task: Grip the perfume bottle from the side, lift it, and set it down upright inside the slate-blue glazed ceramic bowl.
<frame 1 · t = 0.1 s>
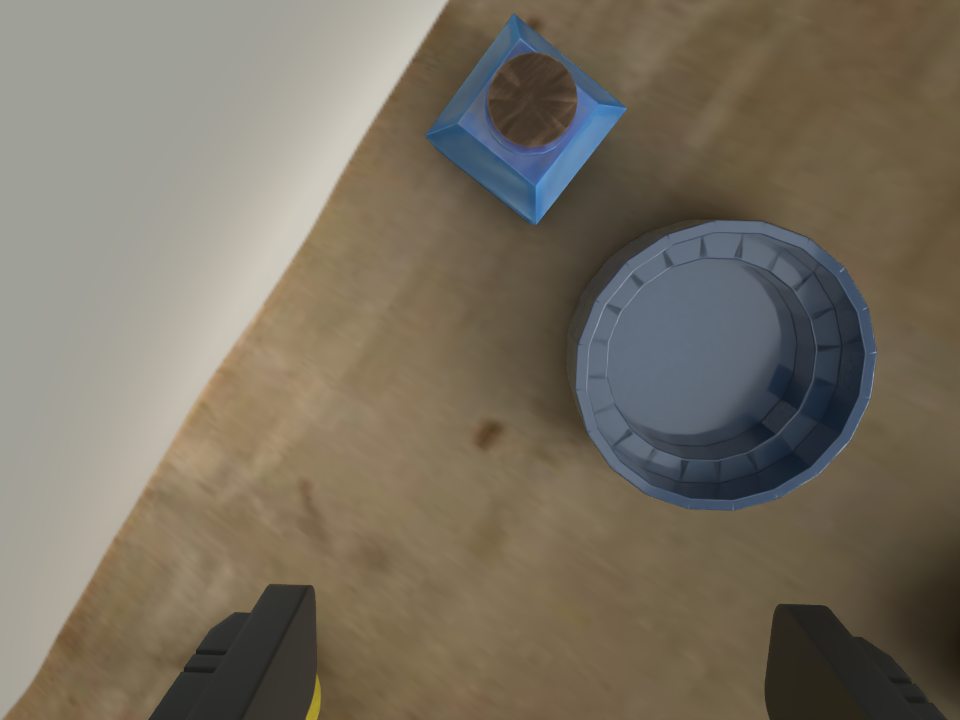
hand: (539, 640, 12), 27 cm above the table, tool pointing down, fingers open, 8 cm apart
lemon: (290, 659, 43), on the table
bowl: (695, 351, 38), on the table
perfume bottle: (520, 138, 36), on the table
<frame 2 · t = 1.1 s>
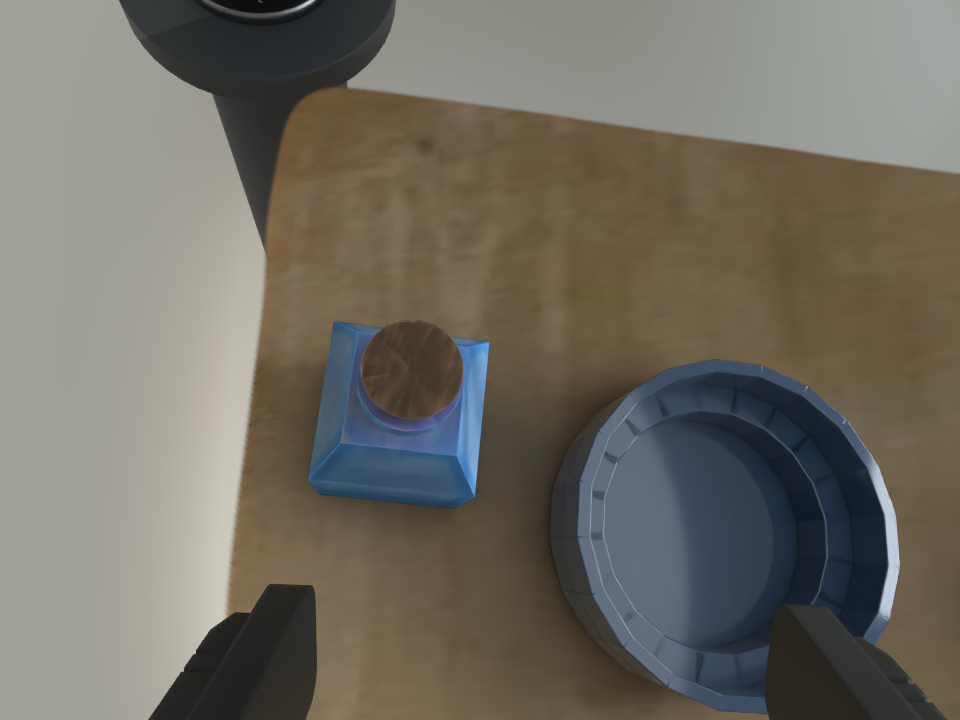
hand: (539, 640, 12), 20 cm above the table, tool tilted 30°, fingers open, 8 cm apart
bowl: (689, 529, 34), on the table
perfume bottle: (396, 435, 33), on the table
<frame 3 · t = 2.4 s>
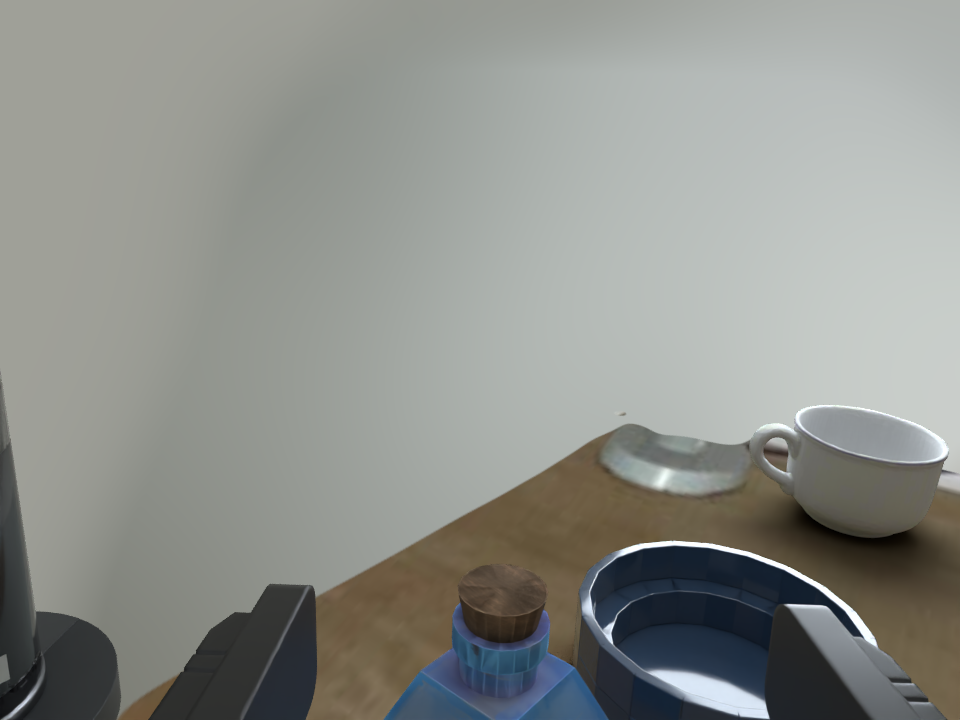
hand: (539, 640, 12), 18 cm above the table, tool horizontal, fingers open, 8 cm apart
teacup: (828, 518, 57), on the table
bowl: (708, 696, 37), on the table
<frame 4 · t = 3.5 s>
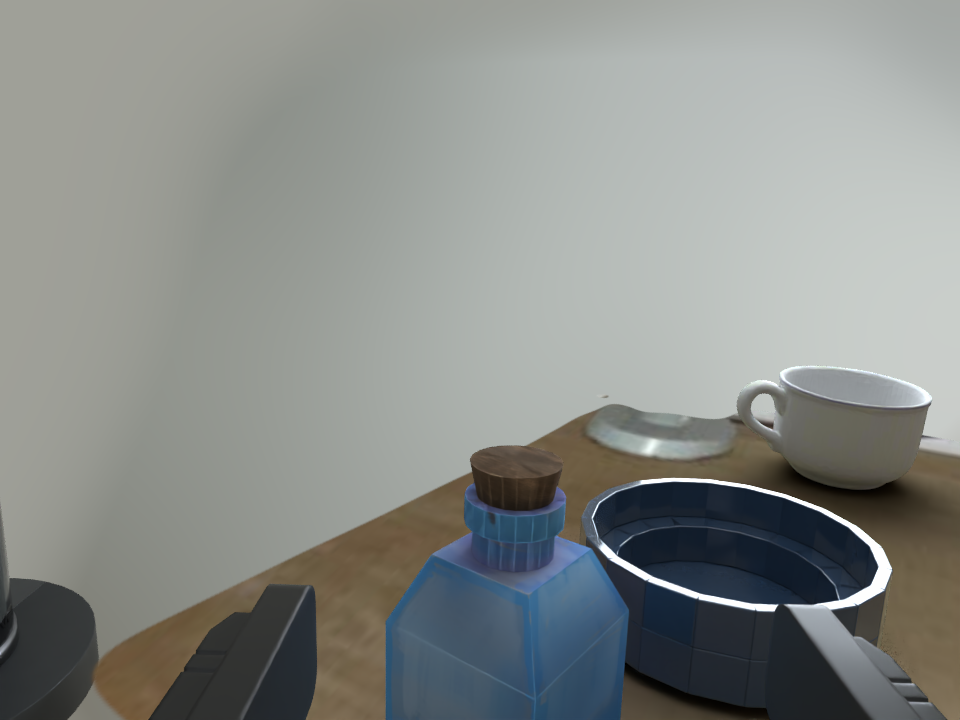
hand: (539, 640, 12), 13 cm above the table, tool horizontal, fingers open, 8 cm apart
teacup: (817, 476, 57), on the table
bowl: (716, 622, 36), on the table
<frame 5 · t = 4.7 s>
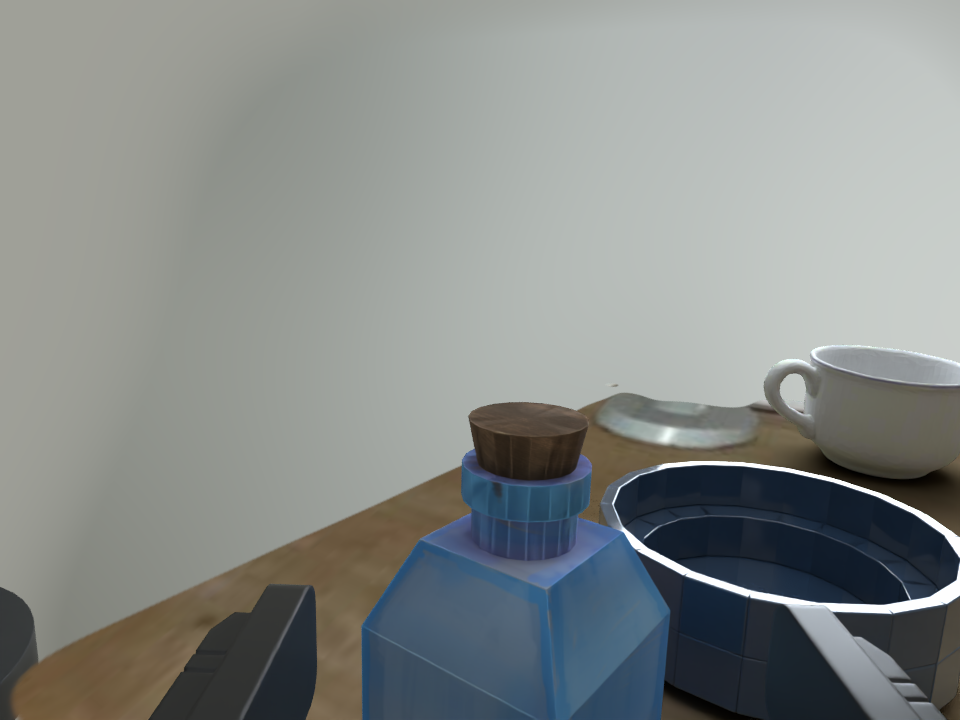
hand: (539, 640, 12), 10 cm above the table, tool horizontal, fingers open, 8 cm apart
teacup: (852, 465, 52), on the table
bowl: (759, 626, 30), on the table
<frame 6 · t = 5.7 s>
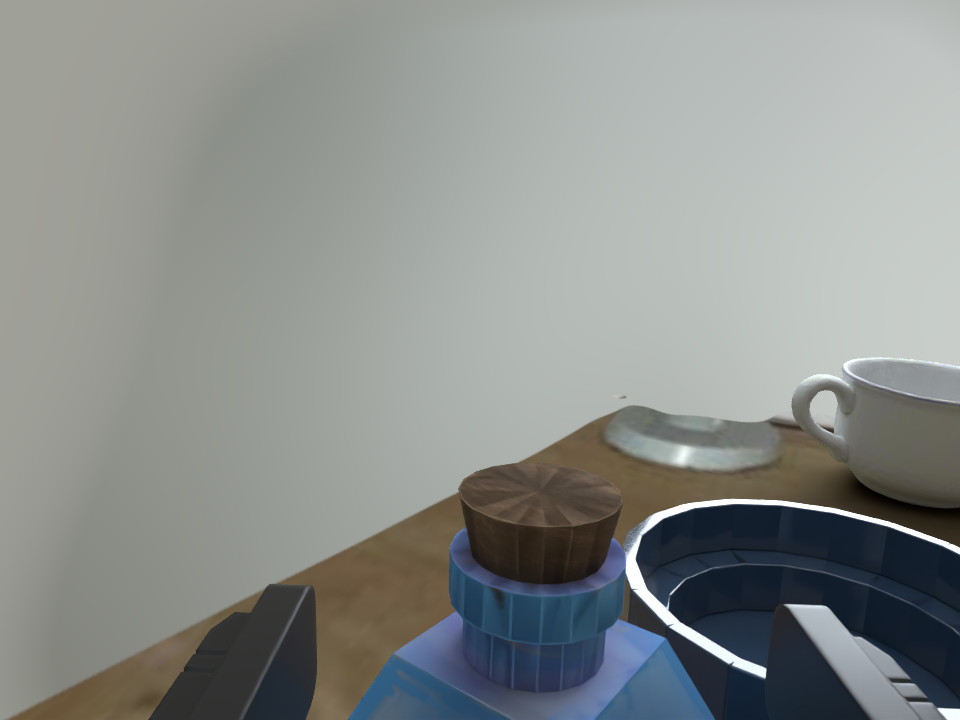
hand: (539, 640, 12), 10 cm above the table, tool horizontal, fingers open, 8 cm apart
teacup: (889, 491, 47), on the table
bowl: (809, 704, 25), on the table
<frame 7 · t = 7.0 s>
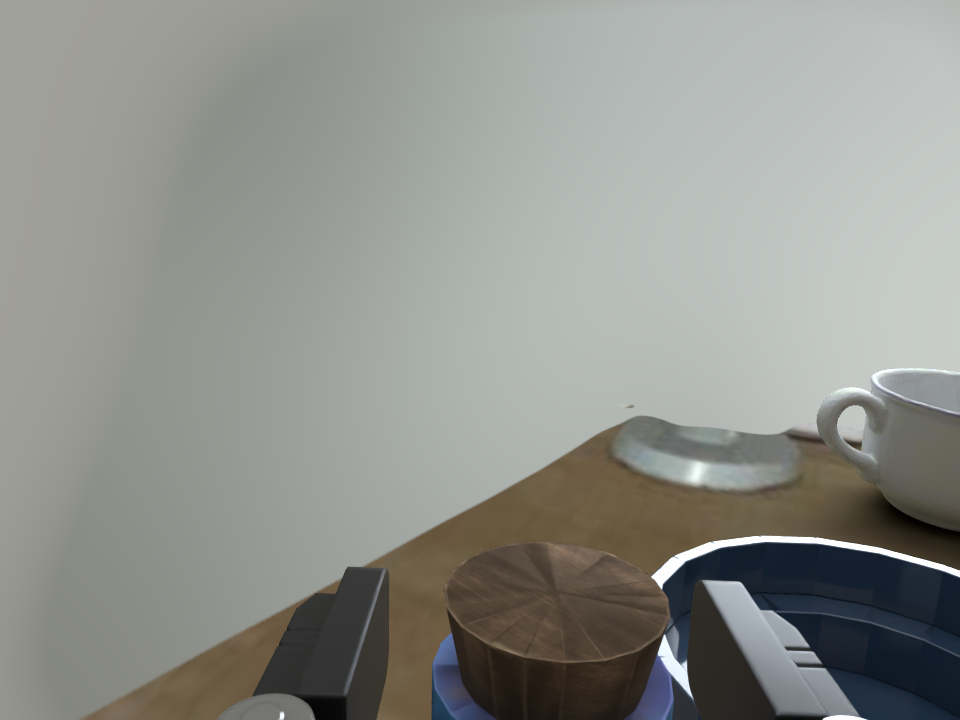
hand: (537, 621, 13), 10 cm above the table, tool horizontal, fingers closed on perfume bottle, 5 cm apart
teacup: (922, 514, 43), on the table
when the fingers open (11 cm above the table, at t = 13.3 s): perfume bottle stays where it is, resting on bowl.
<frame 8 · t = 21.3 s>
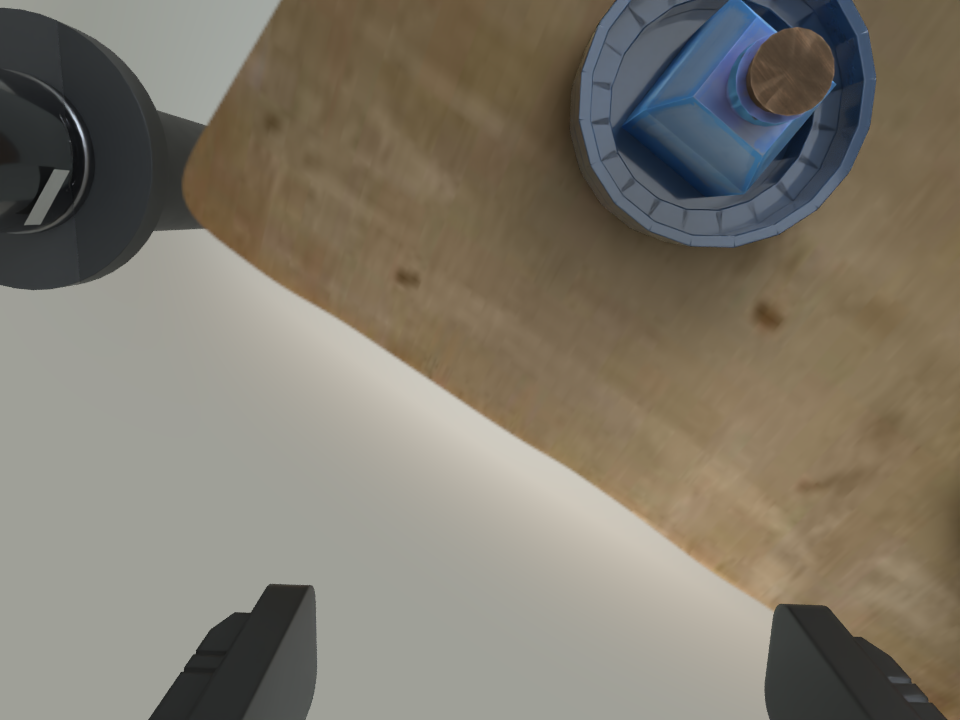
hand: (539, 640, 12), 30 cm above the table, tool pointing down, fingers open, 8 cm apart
bowl: (697, 113, 39), on the table
perfume bottle: (700, 116, 38), resting on bowl
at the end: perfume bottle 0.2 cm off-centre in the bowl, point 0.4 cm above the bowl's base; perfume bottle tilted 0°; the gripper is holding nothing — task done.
